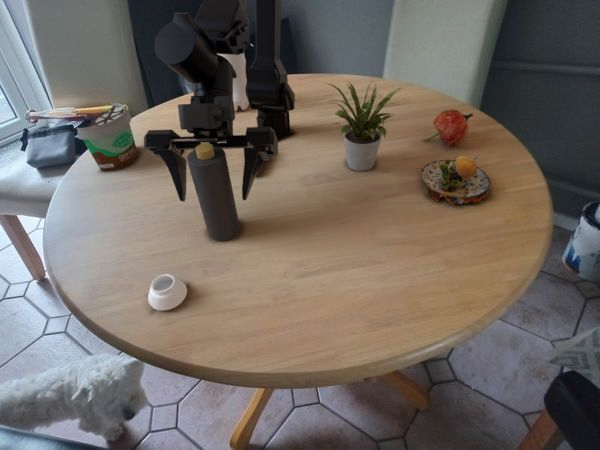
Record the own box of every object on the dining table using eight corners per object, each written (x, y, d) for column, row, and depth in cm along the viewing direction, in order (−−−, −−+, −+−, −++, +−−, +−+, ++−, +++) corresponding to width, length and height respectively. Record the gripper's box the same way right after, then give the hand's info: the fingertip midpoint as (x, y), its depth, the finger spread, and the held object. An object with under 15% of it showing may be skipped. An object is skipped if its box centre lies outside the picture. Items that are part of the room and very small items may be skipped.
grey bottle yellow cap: (229, 215, 63) (212, 134, 53) (246, 231, 60) (230, 148, 50) (202, 229, 61) (178, 147, 50) (217, 246, 57) (195, 162, 47)
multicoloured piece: (453, 161, 72) (463, 125, 67) (503, 192, 64) (518, 154, 60) (404, 178, 69) (410, 143, 64) (450, 214, 61) (462, 176, 56)
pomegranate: (432, 160, 77) (481, 138, 71) (415, 131, 75) (464, 105, 69) (435, 146, 83) (481, 125, 77) (419, 118, 80) (465, 94, 75)
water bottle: (250, 112, 93) (234, -3, 76) (221, 113, 93) (199, -1, 76) (253, 100, 98) (238, -10, 81) (226, 101, 98) (206, -8, 82)
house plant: (306, 174, 71) (303, 90, 60) (332, 141, 80) (334, 63, 69) (378, 191, 66) (389, 103, 55) (398, 153, 75) (410, 71, 64)
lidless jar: (194, 288, 51) (165, 278, 53) (189, 274, 49) (159, 264, 51) (172, 317, 48) (142, 305, 50) (166, 303, 46) (134, 291, 48)
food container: (124, 177, 73) (104, 131, 66) (96, 175, 74) (74, 129, 67) (154, 146, 82) (139, 102, 75) (129, 144, 83) (112, 101, 76)
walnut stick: (260, 152, 78) (259, 146, 77) (271, 153, 78) (270, 146, 77) (247, 176, 72) (245, 169, 71) (258, 177, 71) (257, 170, 70)
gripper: (124, 73, 48) (122, 194, 47) (268, 68, 47) (269, 191, 46) (160, 106, 59) (160, 204, 58) (277, 102, 58) (278, 202, 57)
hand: (213, 200), depth 54 cm, fingers open, 9 cm apart
